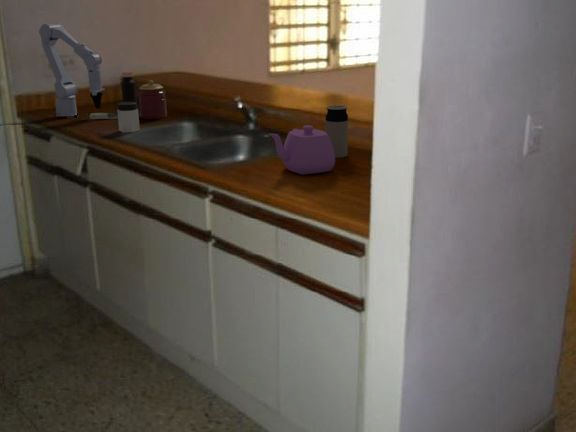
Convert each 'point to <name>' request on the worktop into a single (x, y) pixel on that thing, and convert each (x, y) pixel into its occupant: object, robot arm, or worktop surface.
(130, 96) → the bottle
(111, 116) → the mat
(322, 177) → the worktop surface
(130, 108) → the jar
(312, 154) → the teapot
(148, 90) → the canister
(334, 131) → the travel mug
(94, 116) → the tile
